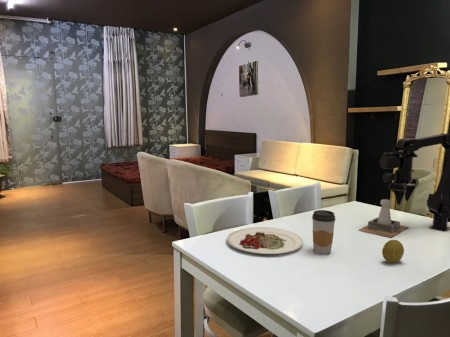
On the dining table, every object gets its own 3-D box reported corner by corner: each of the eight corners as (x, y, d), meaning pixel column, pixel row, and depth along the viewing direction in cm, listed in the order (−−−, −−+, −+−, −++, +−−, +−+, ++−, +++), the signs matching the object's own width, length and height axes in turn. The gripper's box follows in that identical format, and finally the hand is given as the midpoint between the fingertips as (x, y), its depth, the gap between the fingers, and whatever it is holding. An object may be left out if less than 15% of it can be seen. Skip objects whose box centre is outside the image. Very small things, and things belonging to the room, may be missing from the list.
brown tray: (377, 221, 172) (377, 214, 172) (408, 228, 162) (408, 220, 162) (358, 230, 158) (358, 222, 158) (390, 238, 148) (391, 230, 148)
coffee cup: (334, 249, 136) (336, 210, 134) (333, 257, 128) (335, 216, 126) (311, 246, 138) (313, 208, 136) (309, 254, 131) (311, 214, 129)
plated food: (313, 239, 147) (313, 231, 147) (284, 264, 122) (285, 255, 122) (249, 227, 163) (249, 220, 163) (212, 247, 138) (212, 239, 137)
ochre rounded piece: (396, 258, 127) (398, 236, 126) (405, 262, 123) (407, 240, 122) (378, 261, 124) (380, 239, 123) (387, 266, 121) (389, 243, 120)
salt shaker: (392, 230, 157) (394, 201, 155) (378, 229, 158) (380, 201, 156) (389, 226, 162) (391, 198, 161) (375, 225, 163) (377, 198, 162)
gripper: (394, 163, 167) (392, 196, 169) (377, 168, 154) (375, 203, 157) (420, 165, 159) (417, 200, 161) (404, 171, 146) (402, 208, 149)
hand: (402, 202), depth 157 cm, fingers open, 9 cm apart
